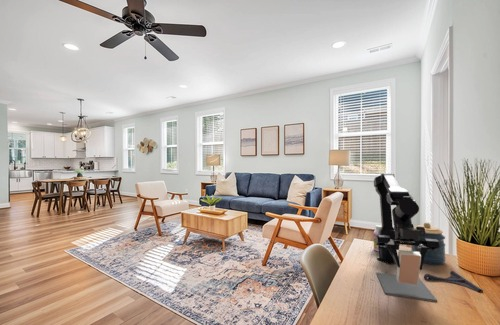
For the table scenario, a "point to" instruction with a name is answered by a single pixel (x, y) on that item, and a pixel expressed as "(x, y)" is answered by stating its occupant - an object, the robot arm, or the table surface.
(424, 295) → the mat
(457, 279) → the bracket
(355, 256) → the table surface
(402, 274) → the tile
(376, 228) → the supplement bottle
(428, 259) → the canister
